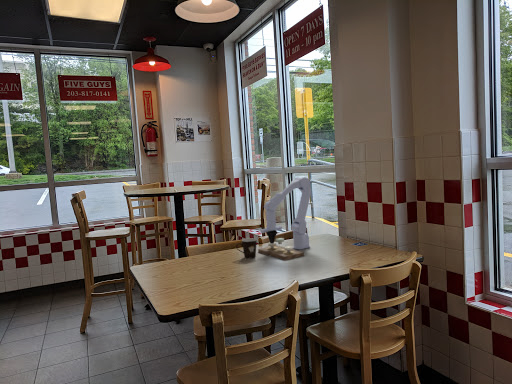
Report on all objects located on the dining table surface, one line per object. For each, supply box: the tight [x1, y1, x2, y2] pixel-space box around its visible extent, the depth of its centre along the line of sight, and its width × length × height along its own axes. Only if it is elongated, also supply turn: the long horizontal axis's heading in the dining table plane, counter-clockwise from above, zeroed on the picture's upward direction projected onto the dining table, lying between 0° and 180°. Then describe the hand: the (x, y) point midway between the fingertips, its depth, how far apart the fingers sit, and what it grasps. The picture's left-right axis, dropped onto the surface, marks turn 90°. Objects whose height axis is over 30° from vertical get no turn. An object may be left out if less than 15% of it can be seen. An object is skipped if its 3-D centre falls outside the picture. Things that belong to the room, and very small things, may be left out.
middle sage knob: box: [275, 237, 285, 245], centre depth 224 cm, size 5×5×3 cm
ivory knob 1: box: [267, 241, 277, 248], centre depth 230 cm, size 5×5×3 cm
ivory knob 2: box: [283, 245, 294, 253], centre depth 217 cm, size 5×5×3 cm
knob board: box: [257, 244, 305, 261], centre depth 224 cm, size 14×26×2 cm, turn 34°
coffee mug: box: [235, 237, 258, 259], centre depth 220 cm, size 12×9×10 cm
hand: (272, 243), depth 230 cm, fingers closed, pressing on ivory knob 1
